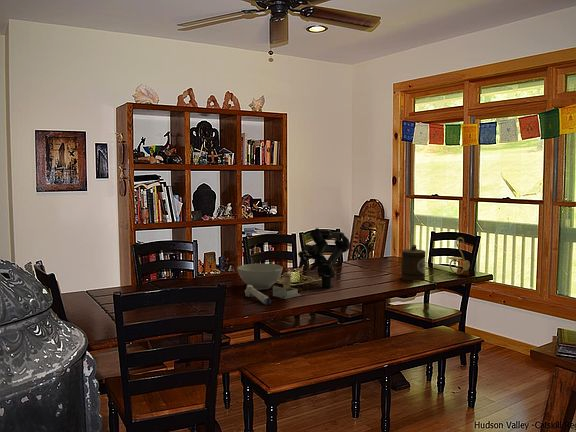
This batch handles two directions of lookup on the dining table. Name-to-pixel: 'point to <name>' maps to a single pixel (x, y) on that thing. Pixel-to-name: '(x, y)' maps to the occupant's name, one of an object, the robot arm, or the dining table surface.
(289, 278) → the cream cylinder
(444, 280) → the dining table surface
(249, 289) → the grey pestle
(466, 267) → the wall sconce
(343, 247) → the robot arm
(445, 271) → the dining table surface
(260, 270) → the decorative bowl
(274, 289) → the grey rectangular box
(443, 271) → the dining table surface
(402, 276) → the wooden container
